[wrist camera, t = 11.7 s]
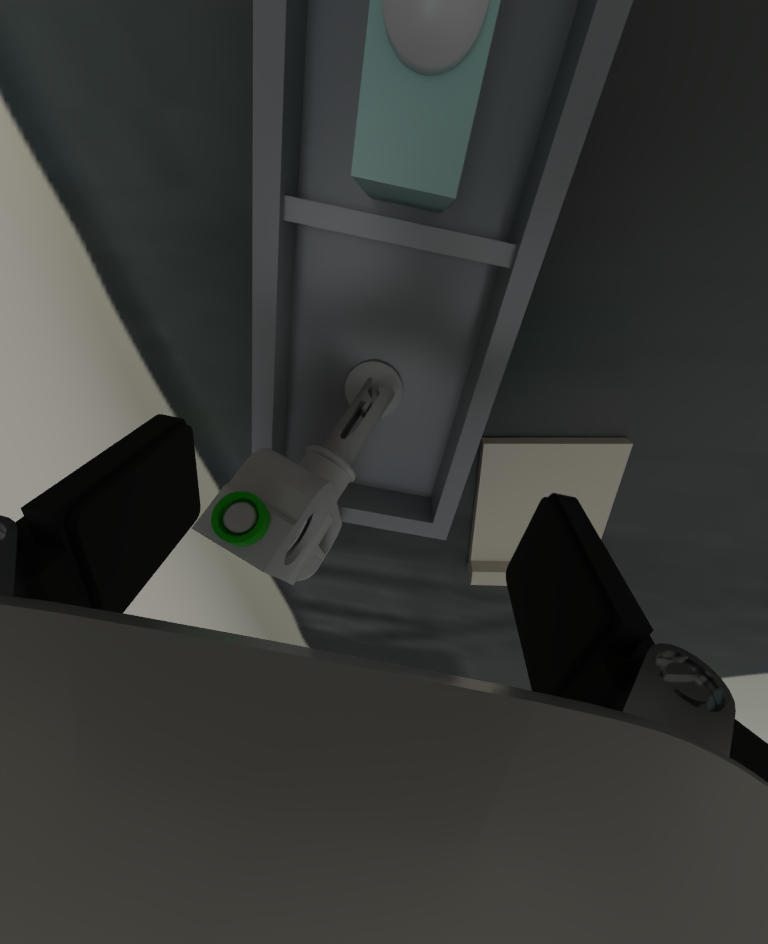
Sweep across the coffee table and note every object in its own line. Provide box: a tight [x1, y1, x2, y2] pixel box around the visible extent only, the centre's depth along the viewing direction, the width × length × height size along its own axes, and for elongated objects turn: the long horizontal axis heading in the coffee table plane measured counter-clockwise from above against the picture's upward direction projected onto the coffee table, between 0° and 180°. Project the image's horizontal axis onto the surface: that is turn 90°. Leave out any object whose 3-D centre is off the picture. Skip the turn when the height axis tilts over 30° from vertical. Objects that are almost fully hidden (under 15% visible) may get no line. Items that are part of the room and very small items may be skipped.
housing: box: [252, 0, 633, 540], centre depth 15 cm, size 24×11×8 cm, turn 170°
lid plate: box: [468, 438, 633, 586], centre depth 24 cm, size 10×8×2 cm
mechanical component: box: [192, 377, 395, 585], centre depth 17 cm, size 3×10×10 cm
